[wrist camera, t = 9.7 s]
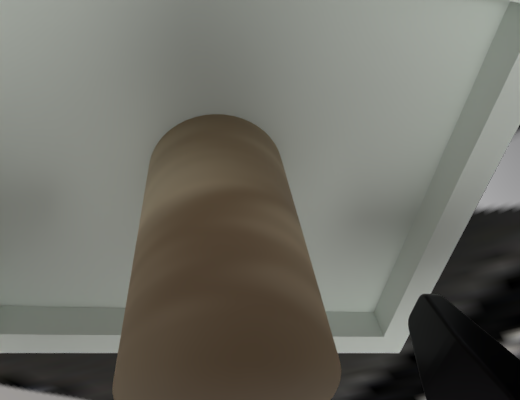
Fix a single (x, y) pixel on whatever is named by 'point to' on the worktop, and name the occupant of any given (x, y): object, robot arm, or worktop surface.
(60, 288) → the tray
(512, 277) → the worktop surface
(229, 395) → the dowel
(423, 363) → the robot arm
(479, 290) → the worktop surface
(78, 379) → the worktop surface
